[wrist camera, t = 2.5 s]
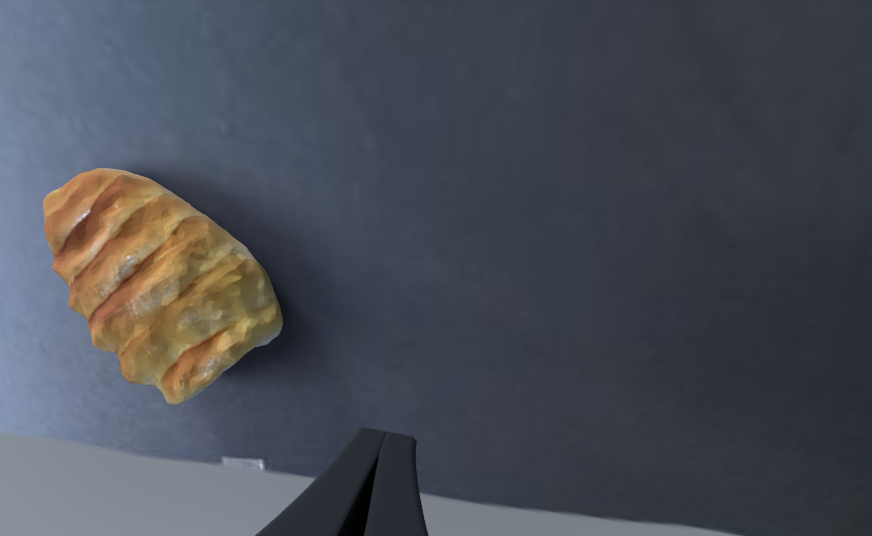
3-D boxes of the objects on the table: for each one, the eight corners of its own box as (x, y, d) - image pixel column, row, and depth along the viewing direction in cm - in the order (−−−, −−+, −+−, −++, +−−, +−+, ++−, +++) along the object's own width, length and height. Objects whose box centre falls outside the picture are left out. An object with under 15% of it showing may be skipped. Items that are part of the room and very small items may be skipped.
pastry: (47, 231, 19) (-55, 254, 15) (146, 123, 17) (59, 120, 14) (209, 390, 21) (152, 445, 17) (313, 305, 19) (275, 345, 15)
